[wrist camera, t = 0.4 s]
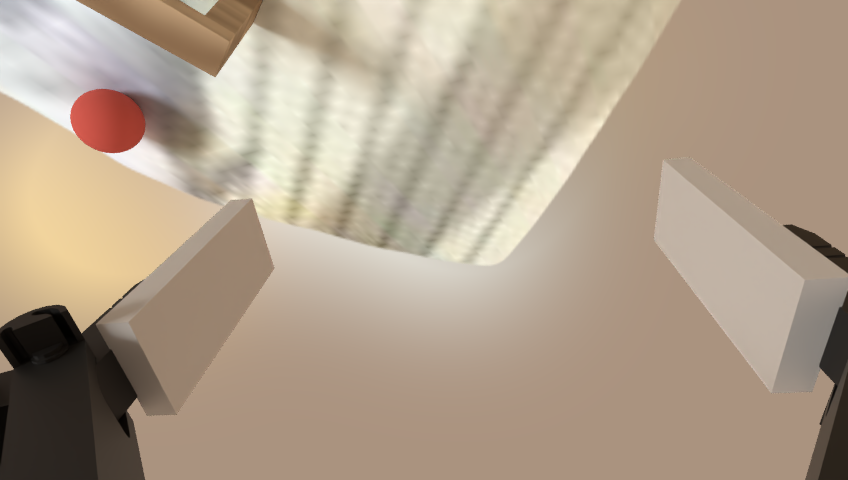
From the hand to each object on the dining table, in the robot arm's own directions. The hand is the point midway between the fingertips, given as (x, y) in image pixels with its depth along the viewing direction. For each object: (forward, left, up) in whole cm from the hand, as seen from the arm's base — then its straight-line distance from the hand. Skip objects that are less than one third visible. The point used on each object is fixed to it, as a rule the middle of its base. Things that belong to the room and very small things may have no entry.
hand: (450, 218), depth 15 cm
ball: (+27, -17, -25) cm, 41 cm away
